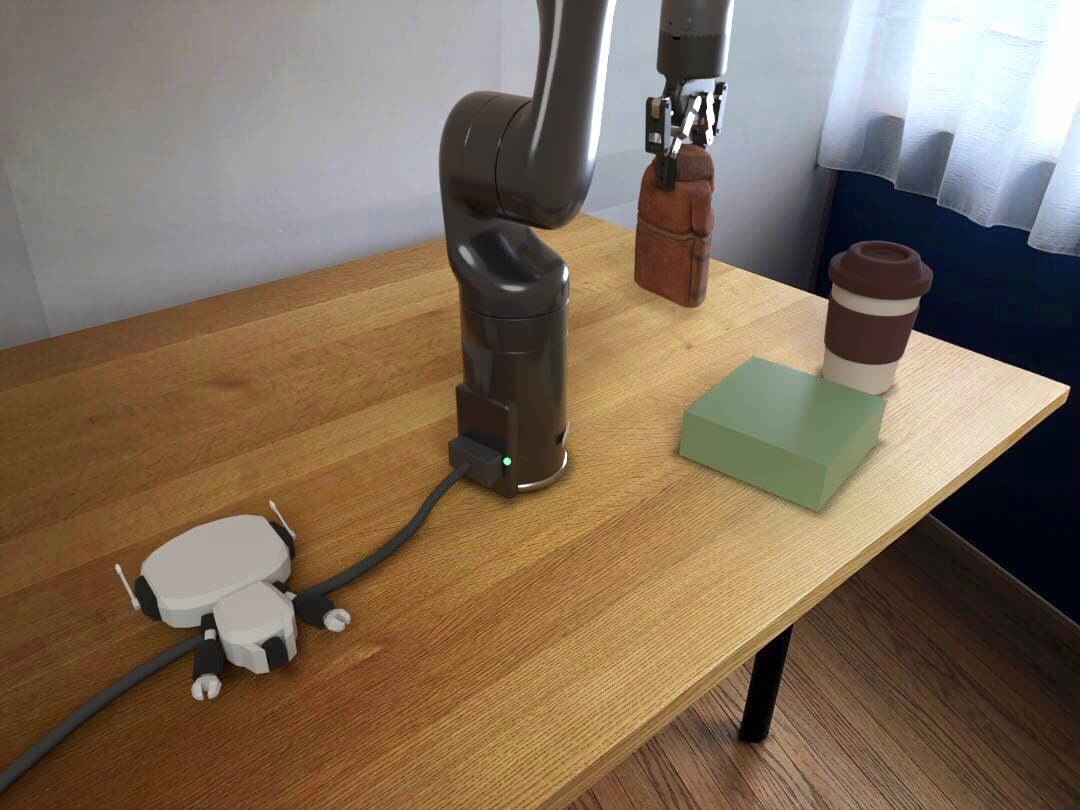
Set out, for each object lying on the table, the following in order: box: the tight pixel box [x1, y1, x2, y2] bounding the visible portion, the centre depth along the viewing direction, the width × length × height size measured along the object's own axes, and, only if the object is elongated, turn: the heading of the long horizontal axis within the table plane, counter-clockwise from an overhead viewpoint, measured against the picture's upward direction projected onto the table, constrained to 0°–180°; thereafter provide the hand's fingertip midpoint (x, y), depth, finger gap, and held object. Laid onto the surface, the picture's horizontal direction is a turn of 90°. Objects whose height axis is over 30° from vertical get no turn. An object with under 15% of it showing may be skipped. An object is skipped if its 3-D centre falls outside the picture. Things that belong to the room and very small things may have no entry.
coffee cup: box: [821, 240, 934, 396], centre depth 91 cm, size 10×10×15 cm
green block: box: [678, 355, 888, 513], centre depth 82 cm, size 14×14×5 cm
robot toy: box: [114, 499, 352, 701], centre depth 63 cm, size 12×4×15 cm
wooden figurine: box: [633, 142, 716, 309], centre depth 102 cm, size 12×6×18 cm, turn 38°
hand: (680, 182), depth 100 cm, fingers closed on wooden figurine, 6 cm apart
